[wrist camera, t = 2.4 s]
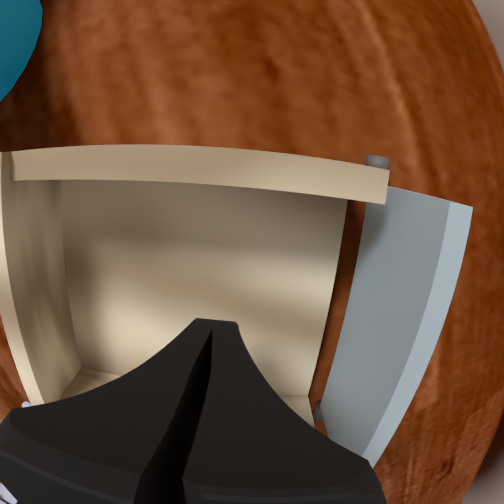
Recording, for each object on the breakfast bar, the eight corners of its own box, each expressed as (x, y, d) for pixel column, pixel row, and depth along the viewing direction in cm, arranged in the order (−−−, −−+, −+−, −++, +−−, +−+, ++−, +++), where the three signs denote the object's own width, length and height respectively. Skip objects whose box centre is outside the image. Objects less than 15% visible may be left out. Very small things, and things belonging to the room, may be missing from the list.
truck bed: (326, 403, 16) (345, 471, 11) (79, 375, 15) (43, 430, 11) (379, 158, 12) (445, 161, 7) (58, 138, 12) (-14, 137, 7)
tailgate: (334, 405, 14) (359, 487, 9) (319, 405, 14) (341, 490, 9) (387, 186, 11) (473, 207, 6) (369, 182, 11) (449, 201, 6)
